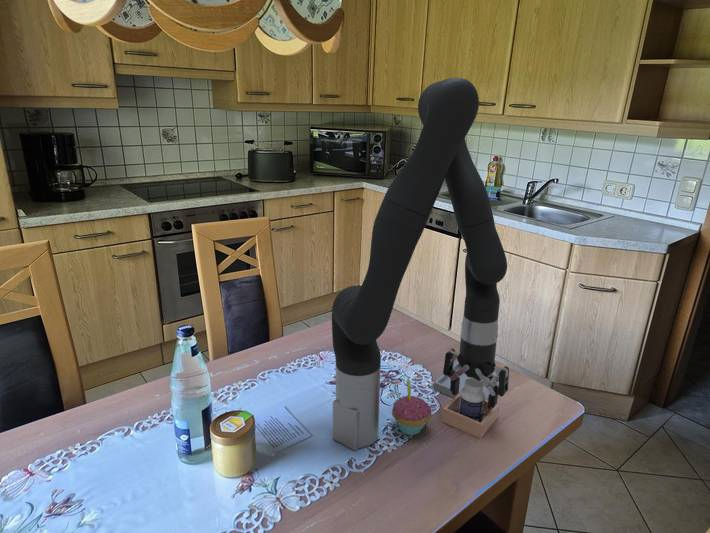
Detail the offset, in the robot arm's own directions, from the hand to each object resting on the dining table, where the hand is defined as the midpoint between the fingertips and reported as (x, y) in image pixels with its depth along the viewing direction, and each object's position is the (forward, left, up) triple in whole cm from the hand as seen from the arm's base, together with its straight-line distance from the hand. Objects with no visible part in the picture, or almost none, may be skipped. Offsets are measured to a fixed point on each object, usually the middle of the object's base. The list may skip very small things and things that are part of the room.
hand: (472, 400), depth 108 cm
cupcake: (-11, +9, -5) cm, 15 cm away
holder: (0, 0, -5) cm, 5 cm away
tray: (+12, +6, -5) cm, 14 cm away
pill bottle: (0, 0, -5) cm, 5 cm away
